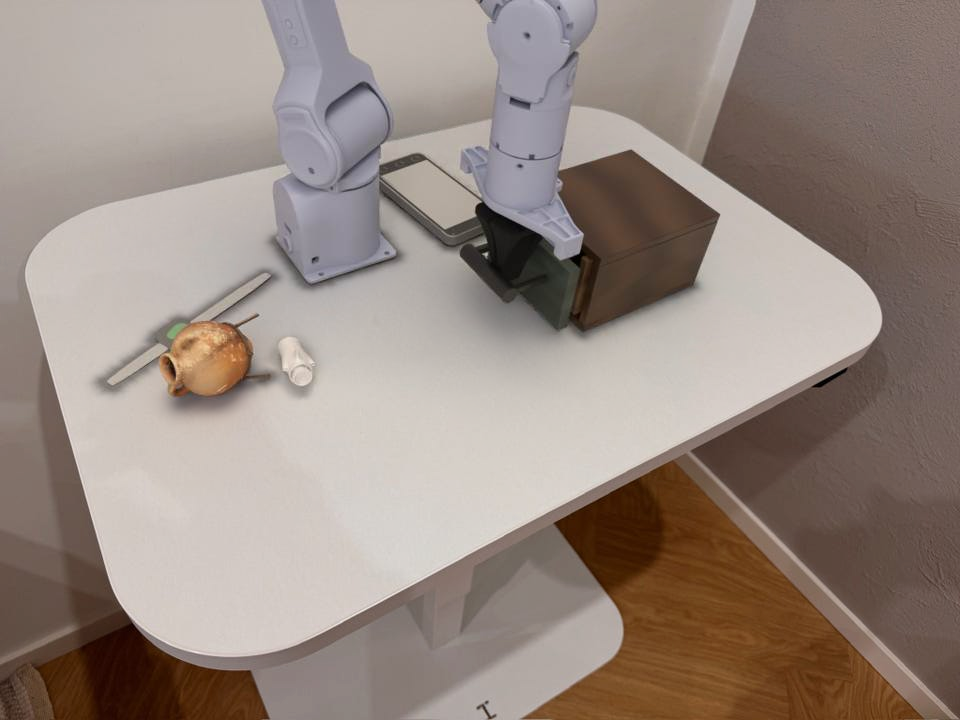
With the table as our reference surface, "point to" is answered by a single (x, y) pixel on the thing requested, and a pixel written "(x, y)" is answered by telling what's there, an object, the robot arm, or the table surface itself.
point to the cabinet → (633, 233)
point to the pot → (208, 358)
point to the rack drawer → (538, 280)
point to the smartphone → (432, 197)
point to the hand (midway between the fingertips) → (506, 276)
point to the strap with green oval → (172, 329)
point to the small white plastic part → (295, 361)
